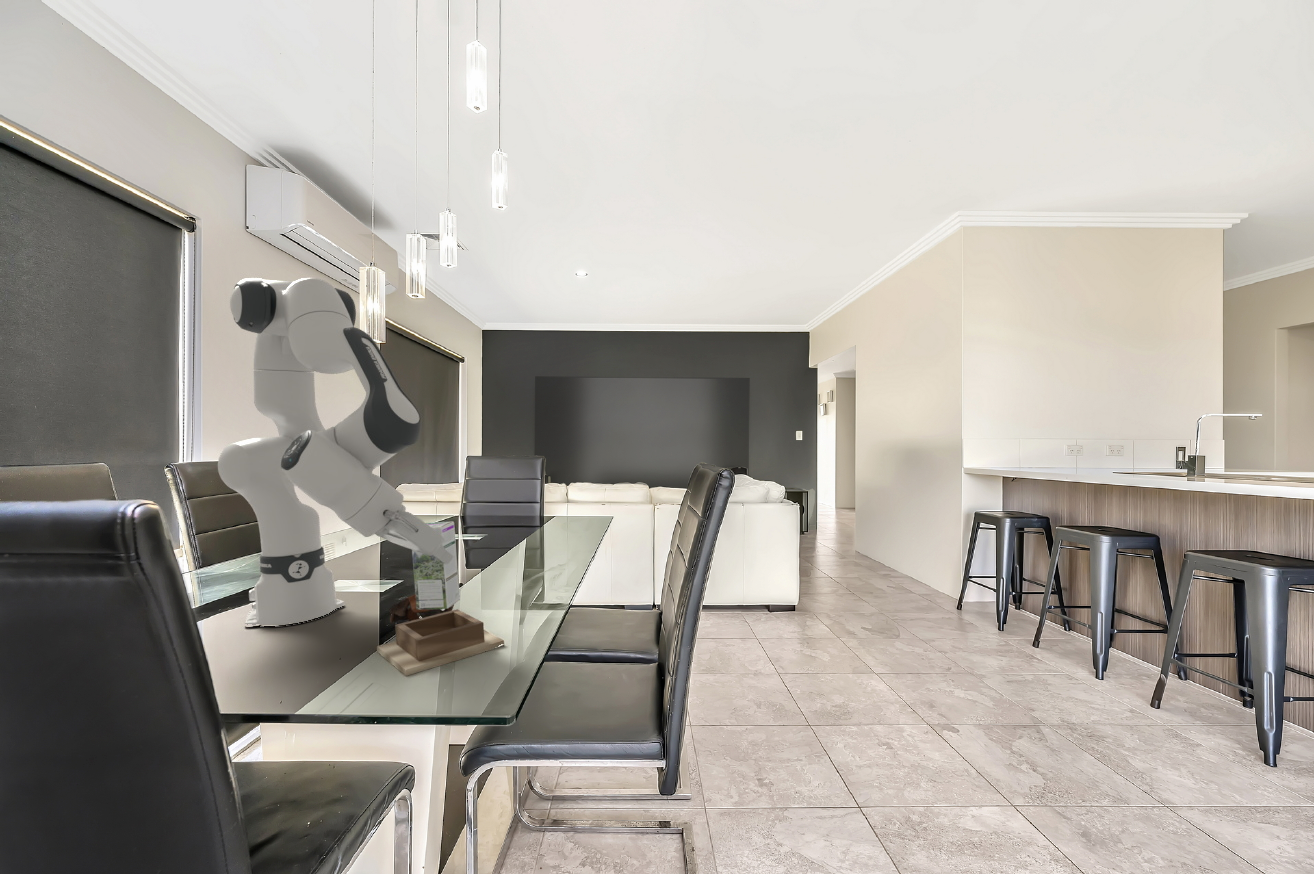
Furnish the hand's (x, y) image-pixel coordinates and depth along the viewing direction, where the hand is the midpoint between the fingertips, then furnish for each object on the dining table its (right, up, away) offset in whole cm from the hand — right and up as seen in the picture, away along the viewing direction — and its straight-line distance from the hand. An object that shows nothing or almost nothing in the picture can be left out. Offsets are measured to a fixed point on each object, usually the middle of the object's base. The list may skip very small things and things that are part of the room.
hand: (438, 556), depth 108 cm
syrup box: (0, -9, 0) cm, 9 cm away
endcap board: (0, -16, 0) cm, 16 cm away
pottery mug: (-7, -17, +12) cm, 22 cm away
